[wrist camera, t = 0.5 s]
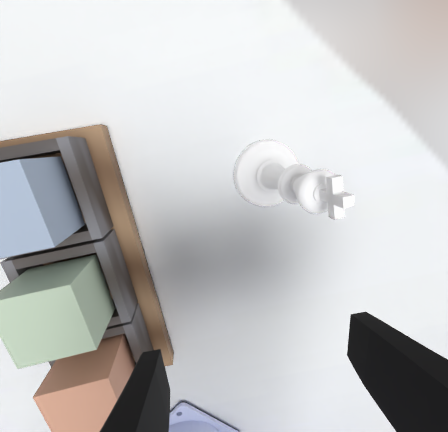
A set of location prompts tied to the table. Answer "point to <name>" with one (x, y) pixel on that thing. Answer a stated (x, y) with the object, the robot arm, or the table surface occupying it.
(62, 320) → the pale green cube
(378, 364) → the robot arm
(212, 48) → the table surface
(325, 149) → the table surface
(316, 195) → the chess piece
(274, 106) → the table surface
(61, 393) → the peach matte cube
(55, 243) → the block
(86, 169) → the board
